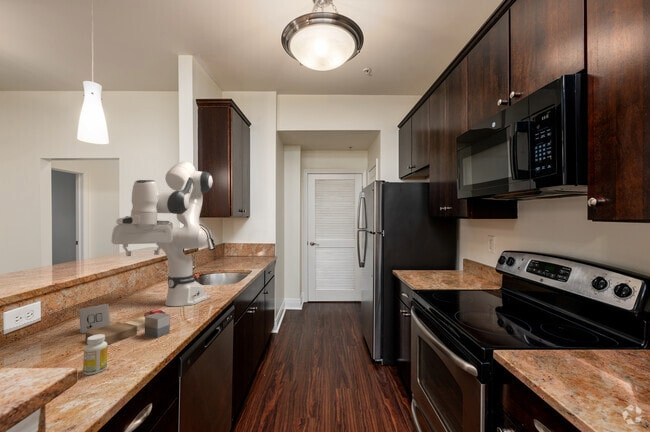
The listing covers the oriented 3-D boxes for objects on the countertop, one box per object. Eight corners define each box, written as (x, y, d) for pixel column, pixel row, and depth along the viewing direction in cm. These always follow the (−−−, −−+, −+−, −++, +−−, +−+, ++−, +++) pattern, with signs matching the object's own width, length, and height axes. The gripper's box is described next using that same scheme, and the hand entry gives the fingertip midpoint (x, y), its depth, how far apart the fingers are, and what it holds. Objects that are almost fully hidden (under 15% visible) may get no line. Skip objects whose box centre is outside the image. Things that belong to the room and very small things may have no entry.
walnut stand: (118, 330, 112) (118, 322, 112) (136, 334, 108) (136, 326, 108) (85, 340, 102) (85, 332, 102) (104, 346, 98) (104, 337, 98)
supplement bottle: (85, 377, 79) (86, 342, 79) (81, 370, 82) (81, 337, 82) (109, 369, 83) (110, 336, 83) (104, 363, 86) (105, 331, 86)
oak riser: (143, 321, 122) (143, 316, 122) (156, 324, 119) (156, 319, 119) (123, 327, 115) (124, 322, 115) (137, 330, 112) (137, 325, 112)
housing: (157, 330, 112) (157, 312, 112) (169, 333, 109) (169, 315, 110) (144, 335, 108) (144, 316, 108) (157, 338, 105) (157, 319, 105)
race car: (172, 320, 124) (172, 311, 124) (160, 324, 119) (160, 315, 119) (154, 315, 130) (154, 306, 130) (142, 319, 125) (142, 310, 125)
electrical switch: (80, 334, 108) (80, 309, 108) (77, 332, 111) (77, 308, 111) (110, 327, 115) (110, 304, 116) (106, 325, 118) (106, 302, 119)
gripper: (171, 220, 123) (170, 253, 122) (111, 219, 109) (110, 256, 108) (175, 220, 118) (174, 254, 117) (113, 219, 104) (112, 257, 104)
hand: (142, 255), depth 113 cm, fingers open, 8 cm apart
